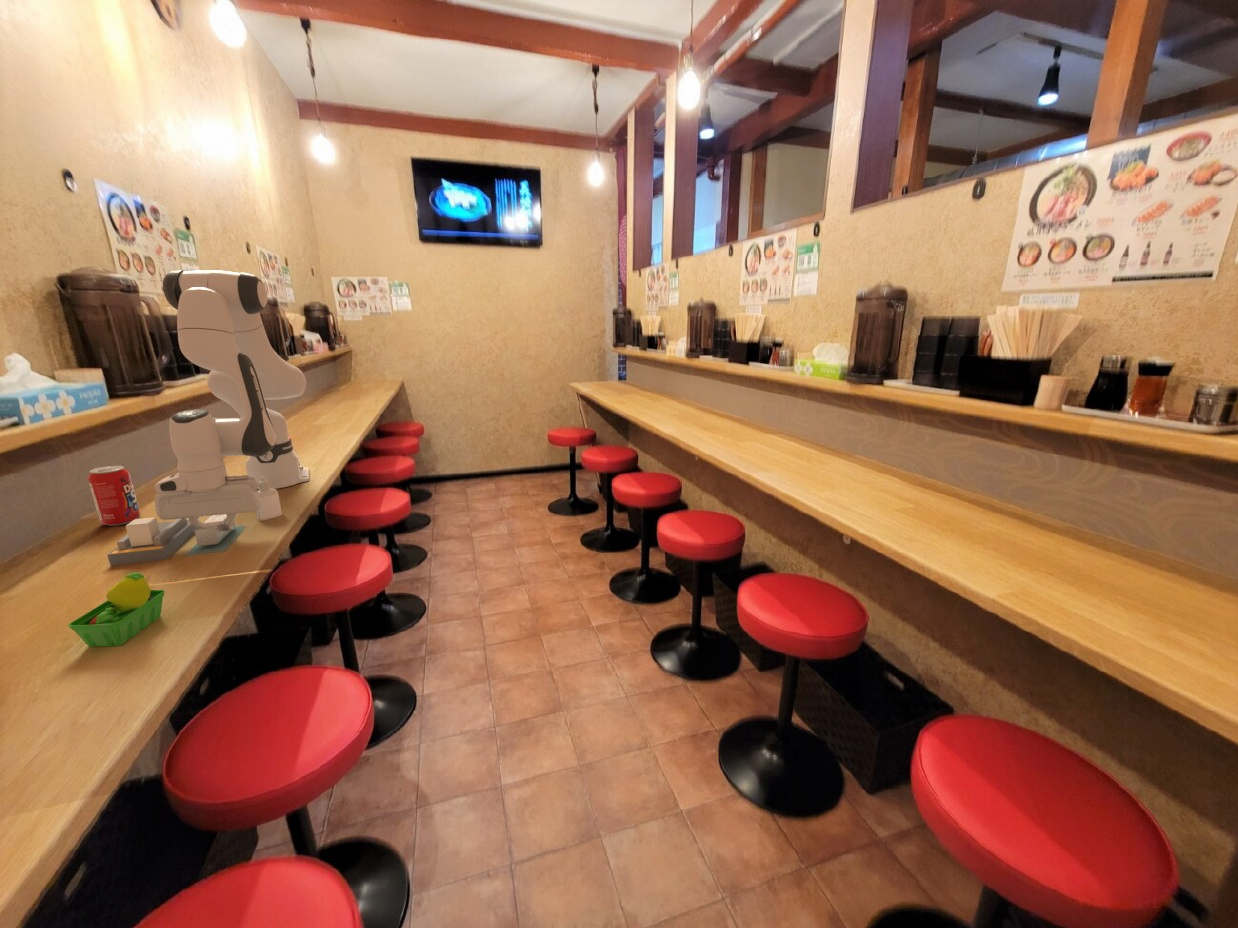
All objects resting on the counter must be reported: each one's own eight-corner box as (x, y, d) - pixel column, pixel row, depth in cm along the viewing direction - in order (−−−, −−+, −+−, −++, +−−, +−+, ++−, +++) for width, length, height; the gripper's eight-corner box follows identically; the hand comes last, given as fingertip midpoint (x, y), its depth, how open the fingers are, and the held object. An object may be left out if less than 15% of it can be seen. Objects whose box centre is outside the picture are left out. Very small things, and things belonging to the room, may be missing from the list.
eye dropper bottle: (280, 519, 139) (272, 478, 135) (256, 522, 137) (247, 480, 133) (283, 513, 143) (276, 473, 139) (260, 516, 141) (252, 475, 137)
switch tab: (140, 539, 118) (134, 518, 116) (161, 537, 119) (156, 517, 118) (131, 546, 114) (125, 525, 113) (153, 544, 116) (147, 523, 114)
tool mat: (211, 529, 131) (210, 528, 131) (247, 526, 134) (247, 525, 134) (184, 556, 117) (184, 555, 117) (225, 552, 119) (225, 551, 119)
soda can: (92, 526, 132) (76, 472, 127) (124, 515, 139) (110, 463, 135) (118, 528, 131) (103, 474, 126) (149, 517, 138) (135, 465, 134)
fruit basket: (129, 613, 95) (114, 560, 92) (180, 612, 96) (166, 558, 93) (73, 652, 84) (53, 593, 81) (130, 650, 85) (112, 591, 82)
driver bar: (217, 527, 130) (214, 513, 129) (235, 525, 131) (232, 511, 130) (197, 545, 119) (194, 530, 118) (218, 543, 120) (215, 528, 119)
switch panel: (150, 534, 128) (146, 516, 126) (198, 529, 131) (194, 512, 130) (110, 567, 112) (104, 546, 110) (166, 560, 115) (161, 540, 113)
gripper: (259, 470, 127) (268, 521, 131) (158, 477, 120) (171, 530, 124) (251, 478, 121) (261, 530, 125) (145, 486, 114) (159, 541, 118)
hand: (216, 530), depth 125 cm, fingers closed on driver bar, 4 cm apart
